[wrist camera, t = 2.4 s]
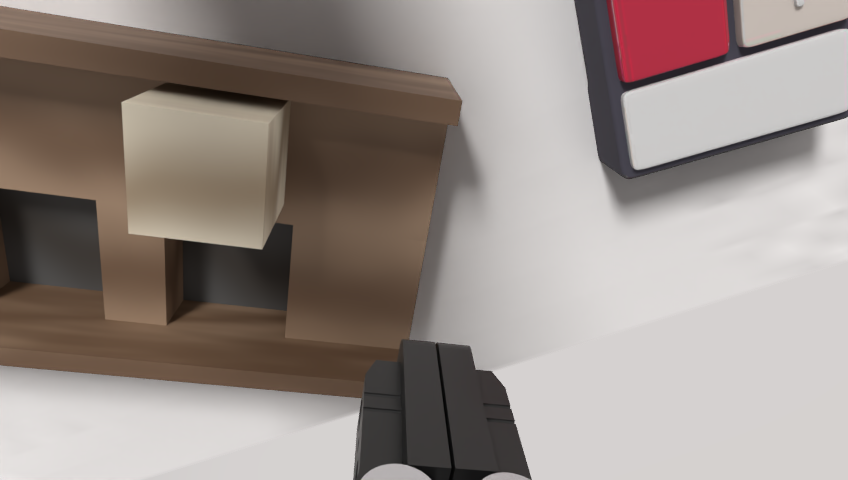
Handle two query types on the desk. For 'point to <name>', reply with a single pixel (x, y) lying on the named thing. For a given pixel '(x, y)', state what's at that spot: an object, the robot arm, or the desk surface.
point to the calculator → (709, 75)
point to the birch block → (205, 164)
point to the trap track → (205, 262)
